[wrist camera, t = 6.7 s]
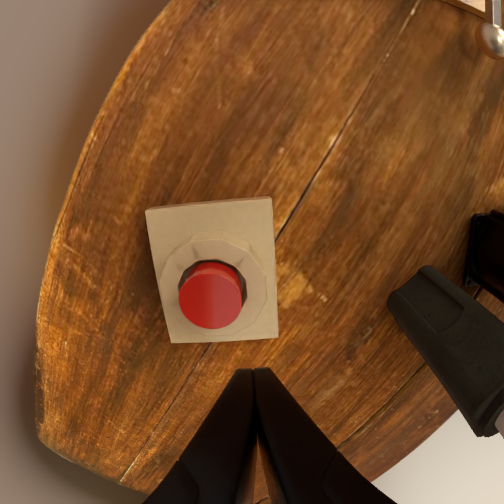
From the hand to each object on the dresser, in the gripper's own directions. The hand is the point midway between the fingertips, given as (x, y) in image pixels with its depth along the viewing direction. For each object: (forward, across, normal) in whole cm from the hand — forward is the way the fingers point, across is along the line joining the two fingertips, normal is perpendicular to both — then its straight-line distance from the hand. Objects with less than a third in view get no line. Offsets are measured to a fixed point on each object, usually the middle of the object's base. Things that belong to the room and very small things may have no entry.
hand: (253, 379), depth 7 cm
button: (+11, +2, +2) cm, 11 cm away
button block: (+13, +2, +2) cm, 14 cm away
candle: (+13, -14, +6) cm, 20 cm away
